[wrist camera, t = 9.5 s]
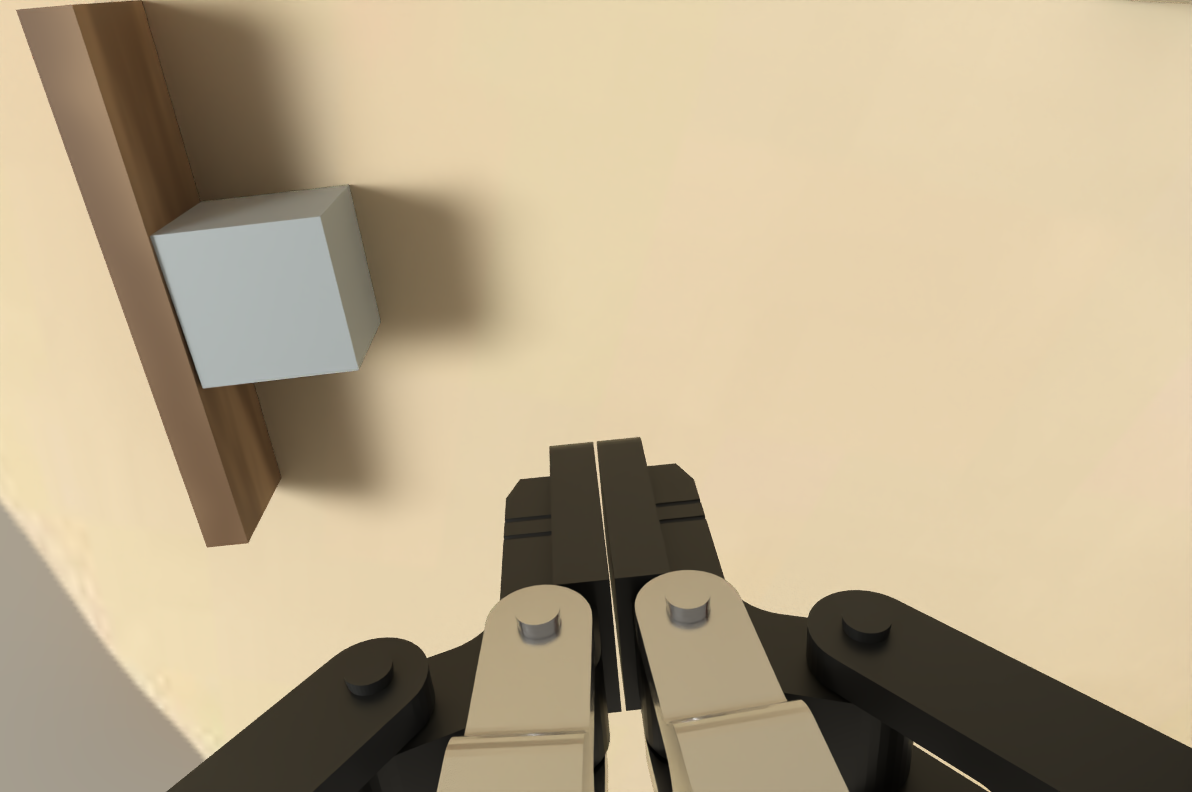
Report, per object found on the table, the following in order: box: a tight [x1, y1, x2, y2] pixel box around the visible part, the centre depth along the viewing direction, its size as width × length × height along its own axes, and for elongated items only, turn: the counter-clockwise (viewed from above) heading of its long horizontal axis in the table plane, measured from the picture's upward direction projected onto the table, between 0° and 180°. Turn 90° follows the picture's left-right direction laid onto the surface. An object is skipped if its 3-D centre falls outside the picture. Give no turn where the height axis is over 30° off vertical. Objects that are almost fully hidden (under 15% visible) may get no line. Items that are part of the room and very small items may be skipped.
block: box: [150, 185, 381, 388], centre depth 39 cm, size 7×7×6 cm
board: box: [16, 0, 281, 547], centre depth 39 cm, size 2×24×6 cm, turn 5°
